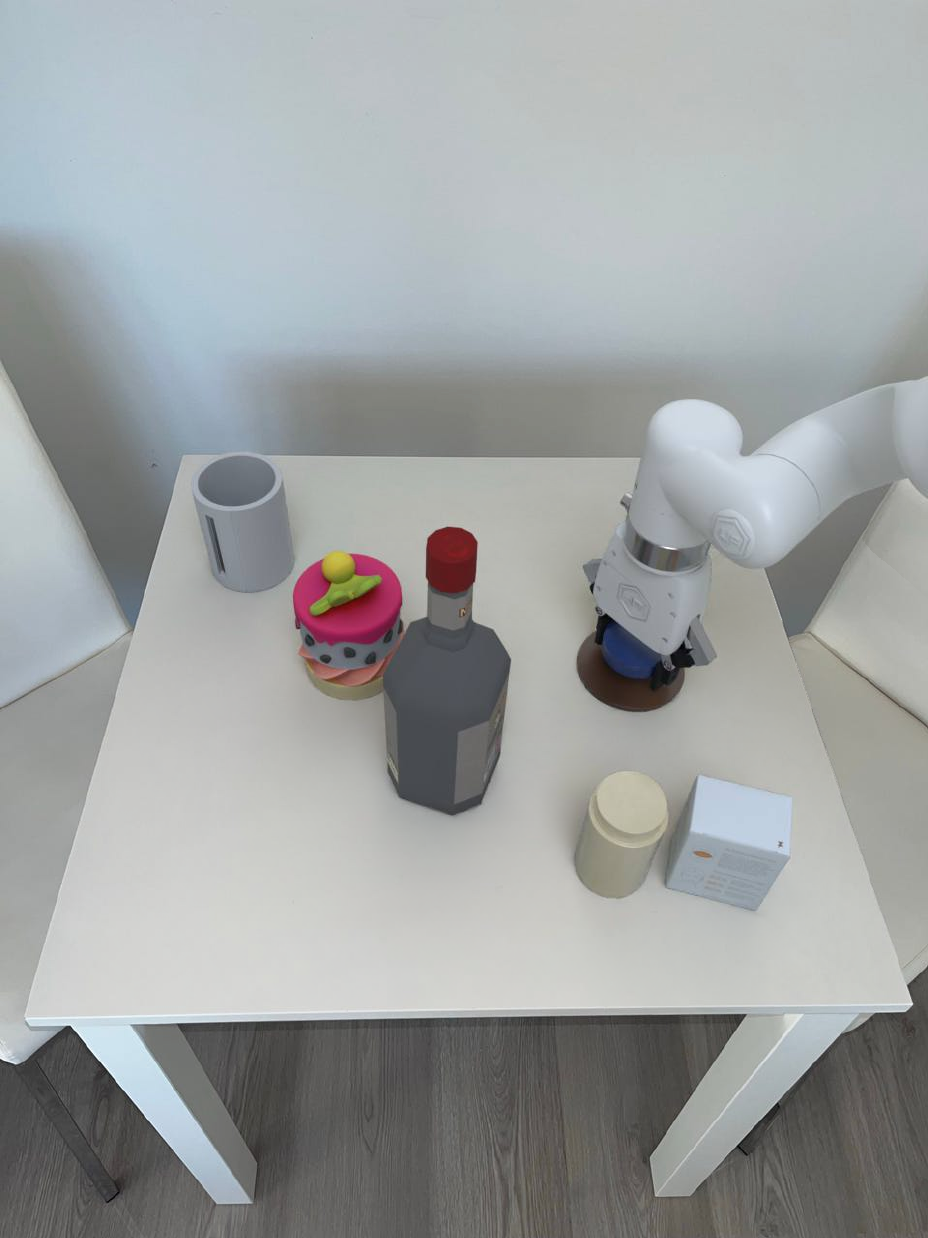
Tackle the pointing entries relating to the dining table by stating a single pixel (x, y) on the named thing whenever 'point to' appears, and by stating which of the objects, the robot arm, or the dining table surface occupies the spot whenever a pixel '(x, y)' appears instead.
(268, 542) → the cup
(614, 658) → the lid
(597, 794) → the jar
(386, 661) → the cake
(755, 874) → the small box
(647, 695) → the coaster
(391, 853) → the dining table surface
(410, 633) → the liquor
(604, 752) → the dining table surface
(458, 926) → the dining table surface
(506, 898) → the dining table surface
